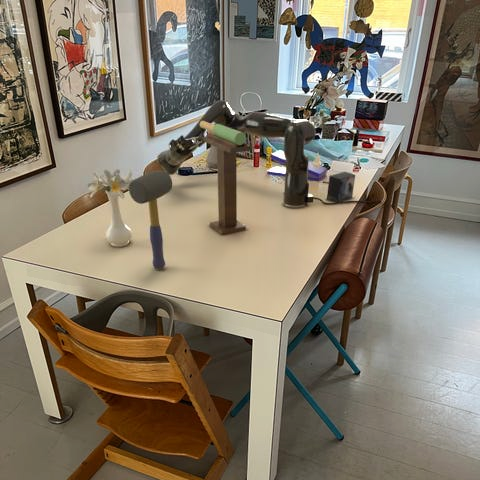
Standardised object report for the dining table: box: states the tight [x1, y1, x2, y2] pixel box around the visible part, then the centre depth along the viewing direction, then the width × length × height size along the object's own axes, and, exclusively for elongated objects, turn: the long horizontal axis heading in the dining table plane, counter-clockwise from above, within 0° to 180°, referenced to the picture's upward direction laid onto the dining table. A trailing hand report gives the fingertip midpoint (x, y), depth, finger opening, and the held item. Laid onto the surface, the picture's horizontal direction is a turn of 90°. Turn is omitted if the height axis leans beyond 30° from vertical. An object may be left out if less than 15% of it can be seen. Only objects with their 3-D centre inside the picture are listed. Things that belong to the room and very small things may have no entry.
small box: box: [326, 171, 356, 203], centre depth 206 cm, size 11×6×10 cm, turn 131°
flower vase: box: [87, 169, 136, 248], centre depth 162 cm, size 13×18×25 cm
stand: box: [203, 132, 252, 236], centre depth 172 cm, size 20×10×32 cm, turn 30°
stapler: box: [266, 149, 328, 182], centre depth 237 cm, size 12×28×10 cm, turn 63°
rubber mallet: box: [128, 169, 173, 271], centre depth 144 cm, size 12×8×30 cm, turn 150°
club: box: [200, 121, 246, 145], centre depth 165 cm, size 28×4×4 cm, turn 30°
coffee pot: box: [205, 144, 217, 169], centre depth 248 cm, size 21×12×15 cm, turn 68°
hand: (193, 136), depth 185 cm, fingers open, 8 cm apart
